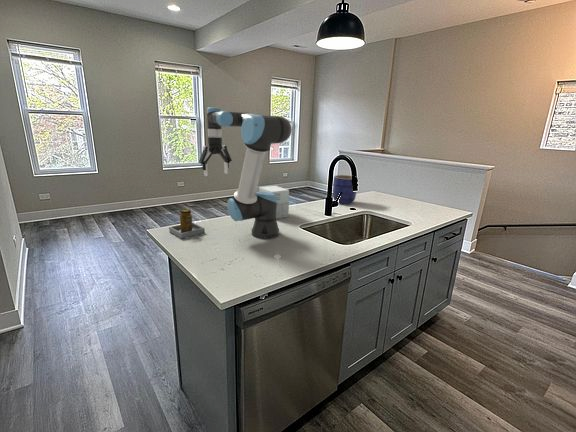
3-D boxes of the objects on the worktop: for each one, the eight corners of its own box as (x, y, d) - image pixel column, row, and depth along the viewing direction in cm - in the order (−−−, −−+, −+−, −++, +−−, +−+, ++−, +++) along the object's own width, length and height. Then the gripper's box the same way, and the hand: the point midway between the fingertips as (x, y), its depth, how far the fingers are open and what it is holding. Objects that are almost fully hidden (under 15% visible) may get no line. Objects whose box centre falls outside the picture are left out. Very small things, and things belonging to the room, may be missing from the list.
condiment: (192, 228, 166) (190, 208, 163) (195, 233, 159) (194, 212, 156) (178, 230, 163) (176, 209, 159) (181, 235, 156) (179, 213, 152)
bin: (204, 233, 162) (204, 228, 161) (181, 239, 152) (181, 233, 152) (192, 227, 170) (191, 222, 170) (169, 232, 161) (168, 227, 160)
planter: (331, 204, 229) (333, 178, 222) (332, 199, 246) (334, 174, 240) (356, 206, 226) (358, 179, 220) (354, 200, 243) (357, 175, 237)
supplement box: (289, 216, 195) (290, 189, 190) (271, 219, 188) (272, 191, 183) (275, 210, 209) (275, 185, 204) (258, 213, 202) (258, 186, 196)
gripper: (229, 136, 177) (230, 172, 183) (190, 136, 160) (193, 176, 166) (237, 137, 172) (237, 173, 178) (198, 137, 155) (200, 177, 161)
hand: (216, 174), depth 172 cm, fingers open, 13 cm apart
